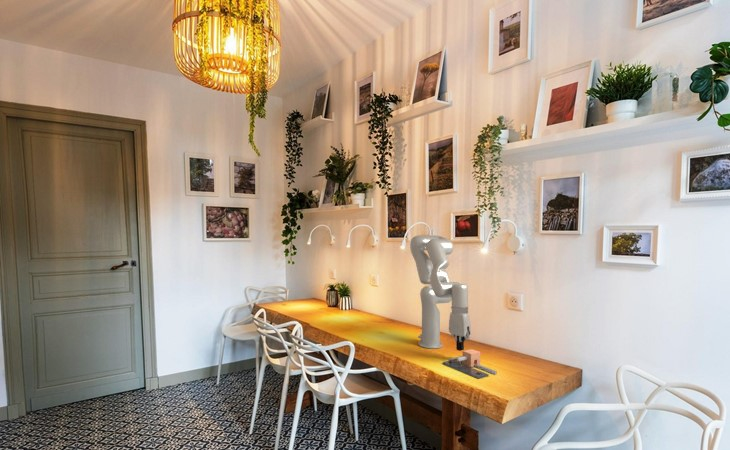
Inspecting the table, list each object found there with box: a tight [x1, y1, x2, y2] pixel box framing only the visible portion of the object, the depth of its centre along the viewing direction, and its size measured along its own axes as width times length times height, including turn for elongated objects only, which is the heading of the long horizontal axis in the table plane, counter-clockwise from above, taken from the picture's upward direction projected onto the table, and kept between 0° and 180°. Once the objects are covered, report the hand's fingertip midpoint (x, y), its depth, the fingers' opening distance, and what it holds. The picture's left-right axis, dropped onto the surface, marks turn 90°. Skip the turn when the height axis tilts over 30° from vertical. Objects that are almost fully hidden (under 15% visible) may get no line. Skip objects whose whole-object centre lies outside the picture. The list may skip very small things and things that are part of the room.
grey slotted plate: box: [448, 355, 498, 375], centre depth 167 cm, size 21×9×2 cm, turn 32°
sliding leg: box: [456, 348, 481, 368], centre depth 170 cm, size 5×12×6 cm, turn 122°
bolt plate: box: [442, 360, 489, 380], centre depth 165 cm, size 21×6×1 cm, turn 32°
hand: (460, 349), depth 177 cm, fingers closed
